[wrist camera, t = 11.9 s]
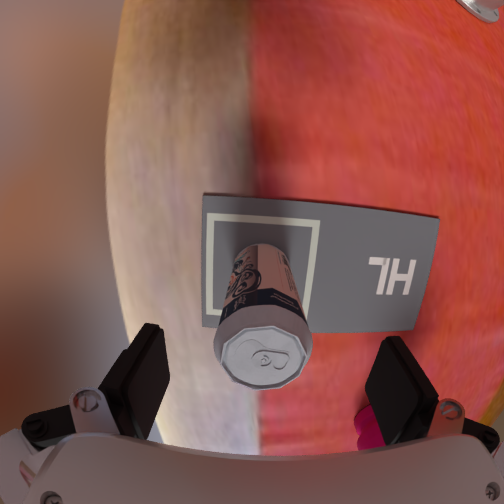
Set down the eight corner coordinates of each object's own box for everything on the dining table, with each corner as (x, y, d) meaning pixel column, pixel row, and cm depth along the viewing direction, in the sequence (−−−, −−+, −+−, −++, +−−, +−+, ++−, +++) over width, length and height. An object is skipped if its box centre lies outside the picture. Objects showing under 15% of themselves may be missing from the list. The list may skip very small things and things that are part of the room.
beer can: (238, 236, 22) (217, 306, 11) (295, 247, 23) (330, 324, 11) (228, 289, 24) (205, 387, 12) (282, 299, 24) (299, 400, 12)
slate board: (203, 195, 22) (202, 195, 22) (438, 218, 22) (440, 219, 22) (202, 325, 25) (202, 326, 25) (412, 329, 25) (413, 329, 25)
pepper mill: (339, 425, 29) (370, 553, 10) (378, 391, 28) (434, 525, 8) (372, 433, 30) (408, 542, 11) (408, 402, 28) (462, 512, 9)
